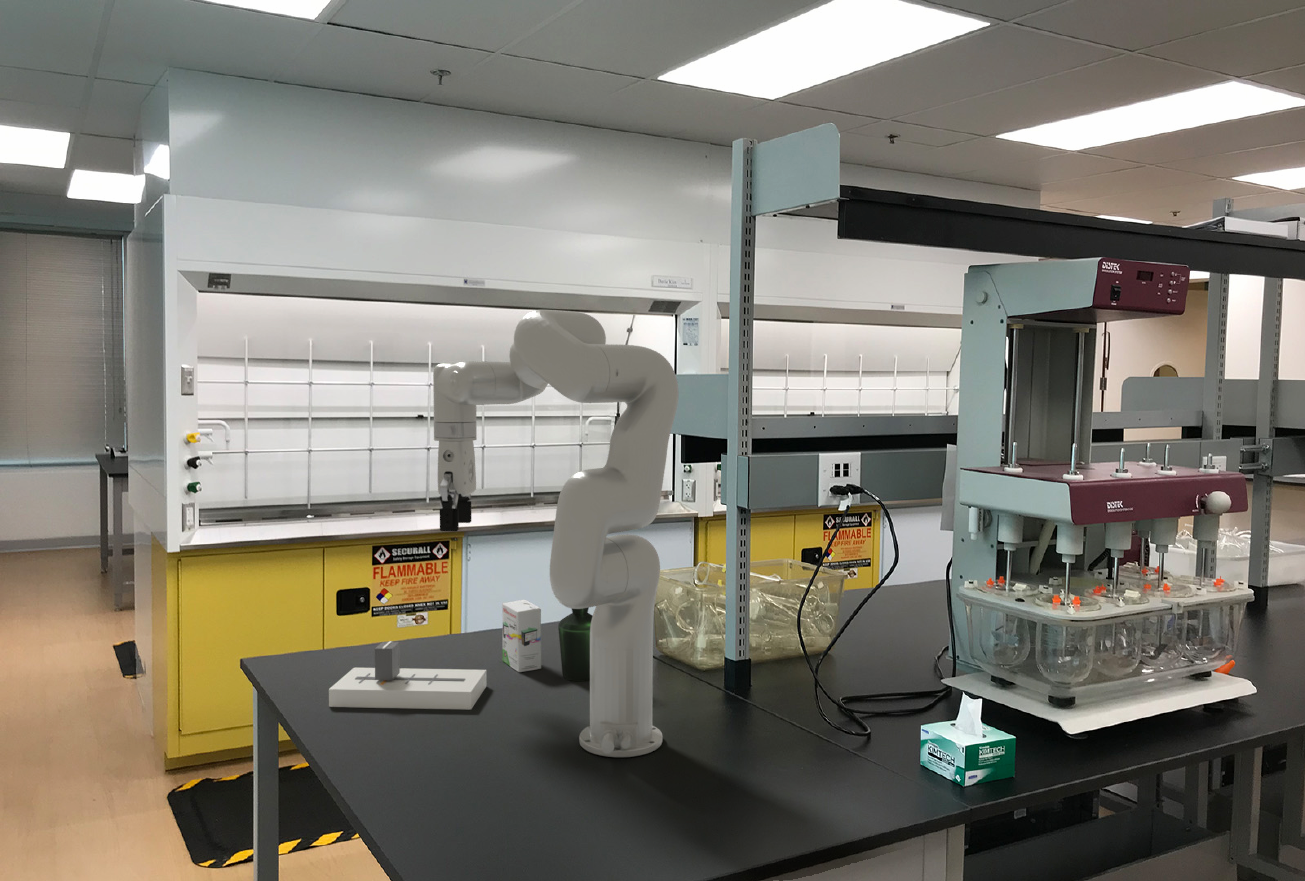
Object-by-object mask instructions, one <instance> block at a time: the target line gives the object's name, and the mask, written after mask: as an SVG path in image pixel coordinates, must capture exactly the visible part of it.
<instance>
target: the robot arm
mask: <svg viewBox="0 0 1305 881" xmlns="http://www.w3.org/2000/svg"><path fill="white" fill-rule="evenodd" d="M606 341H607V337H606V333H605V330H604V327H603V326H602V324H601V323H600V322H599V321H598V320H597V319H596V318H595V317H594V316H591V315H589V314H587V313H585V312H581V311H579V312H578V311H568V310H555V309H553V310H552V309H537V310H533V311H530V312H528V313H527V314H525V315H524V316H523V317H522V318H520V320H518V323H517V325H516V327H515V330H514V335H513V342H512V343H511V347H510V349H509V355H508V356H509V357H508V358H509V361H459V362H447V363H446V362H445V363H439V364H437V365H435V367H434V368H433V371H432V372H433V374H432V376H433V378H432V379H433V380H432V381H433V386H432V387H433V389H432V390H433V440H434V441H435V442H438V451H437V492H438V495H440V496H439V530H440V532H457V531H459V524H462V523H463V524H464V523H465V524H470V523H471V522H472V493H474V492H475V491H476V490H477V475H476V474H477V472H476V456H475V445H474V441H477V435H478V434H477V431H478V430H477V406H484V405H485V406H486V405H491V406H492V405H512V404H518V403H521V402H523V401H526V400H529V399H531V398H533V397H534V398H535V397H536V396H538V395H540V394H542V393H543V392H544V391H545V389H546V388H547V387H548V385H549V386H551V387H552V388H553V389H554V390H556V391H557V392H558V393H559V394H560V395H562V396H563V397H566V399H568V400H570V401H573V402H577V403H582V404H603V403H604V404H606V403H607V404H608V403H609V404H610V403H625V404H626V407H625V408H626V409H625V410H624V411H623V413H622V414H621V415H620V416H619V418H618V420H617V422H616V424H615V425H614V428H613V430H612V433H611V436H610V438H609V450H608V455H607V460H606V462H605V465H604V466H603V467H600V468H589V469H583V470H580V471H578V472H576V473H574V474H572V476H570V477H569V478H568V479H567V481H565V483H564V485H563V486H562V488H561V490H560V493H559V496H558V500H557V504H556V510H555V518H554V527H553V537H552V542H551V543H552V544H551V552H550V559H549V562H550V563H549V582H550V586H551V590H552V592H553V593H552V594H553V595H554V597H555V598H556V599H557V601H558V602H559V603H560V604H561V605H562V606H564V607H566V608H568V609H571V608H572V609H583V608H593V607H595V608H594V610H593V617H592V621H591V626H590V680H589V726H586V727H584V728H583V730H581V731H580V733H579V736H578V737H579V745H580V746H581V747H582V748H583V749H584V750H585V751H587V752H589V753H591V754H594V755H598V756H602V757H609V758H631V757H639V756H643V755H647V754H649V753H652V752H653V751H656V750H657V749H659V748H660V747H661V746H662V743H663V737H664V736H663V733H662V731H661V730H660V729H659V728H658V727H656V726H655V725H653V692H654V691H653V684H654V683H653V682H654V681H653V679H654V678H653V677H654V676H653V673H654V672H653V671H654V670H653V669H654V666H653V664H654V661H653V660H654V658H653V656H654V654H653V651H654V645H653V644H654V643H653V642H654V614H655V604H656V603H655V602H656V597H657V593H658V592H657V591H658V587H659V583H660V582H659V581H660V576H661V565H660V564H661V563H660V557H659V555H658V551H657V550H656V548H655V547H654V545H653V544H652V543H651V542H650V541H649V540H648V539H646V538H644V537H642V536H640V535H635V534H618V535H611V536H608V535H609V534H617V533H621V532H622V533H624V532H629V531H635V530H637V529H641V528H645V527H648V526H649V525H650V524H652V523H653V521H654V520H655V519H656V517H657V515H658V512H659V508H660V504H661V503H660V502H661V497H662V496H661V495H662V492H663V491H662V490H663V483H664V479H665V469H666V462H667V457H668V456H667V455H668V449H669V448H668V447H669V442H670V437H671V433H672V428H673V424H674V420H675V418H676V414H677V409H678V403H679V384H678V379H677V376H676V373H675V370H674V368H673V366H672V364H671V363H670V362H669V360H668V359H667V358H666V357H665V356H663V355H662V354H661V353H660V352H658V351H657V350H654V349H652V348H648V347H646V346H640V345H633V344H606V343H607V342H606ZM572 609H571V610H572Z"/></svg>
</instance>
